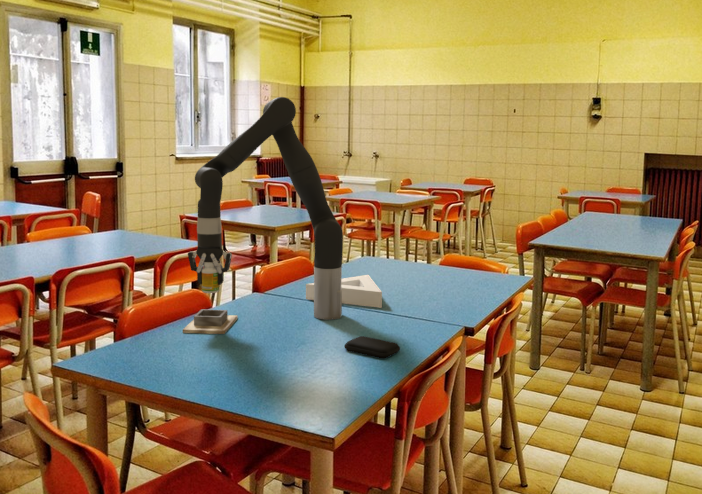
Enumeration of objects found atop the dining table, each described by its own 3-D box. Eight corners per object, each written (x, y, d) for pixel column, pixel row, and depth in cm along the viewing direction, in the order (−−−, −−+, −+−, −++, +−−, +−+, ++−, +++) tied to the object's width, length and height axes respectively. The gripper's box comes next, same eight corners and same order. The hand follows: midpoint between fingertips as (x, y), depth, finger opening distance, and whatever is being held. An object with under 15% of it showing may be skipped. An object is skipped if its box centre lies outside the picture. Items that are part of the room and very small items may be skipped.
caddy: (237, 318, 230) (237, 306, 230) (224, 334, 213) (224, 321, 212) (199, 317, 231) (198, 305, 231) (182, 332, 213) (182, 320, 213)
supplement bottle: (215, 294, 217) (214, 263, 215) (199, 292, 218) (198, 262, 216) (221, 290, 222) (221, 260, 221) (206, 289, 223) (205, 259, 222)
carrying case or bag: (404, 351, 199) (361, 342, 207) (404, 341, 199) (361, 332, 207) (385, 361, 190) (341, 351, 199) (385, 351, 190) (341, 341, 198)
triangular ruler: (305, 300, 258) (305, 284, 257) (333, 286, 282) (333, 271, 281) (381, 309, 247) (382, 292, 246) (403, 293, 271) (404, 278, 270)
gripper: (234, 230, 220) (235, 282, 223) (190, 229, 221) (191, 280, 224) (229, 233, 213) (229, 287, 216) (183, 232, 214) (184, 286, 217)
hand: (210, 283), depth 220 cm, fingers closed on supplement bottle, 5 cm apart
